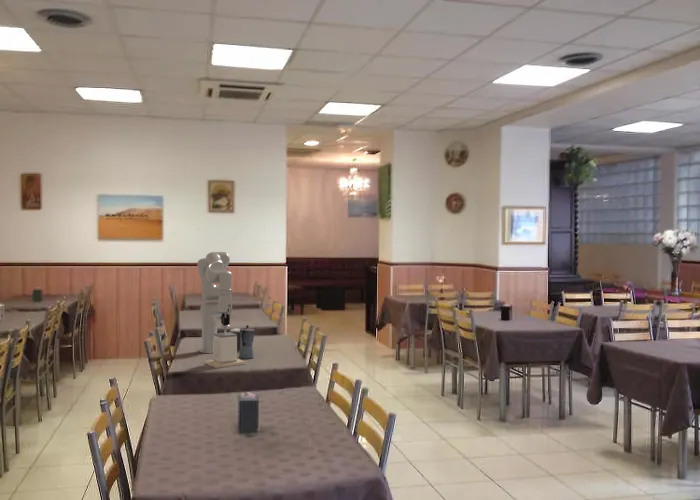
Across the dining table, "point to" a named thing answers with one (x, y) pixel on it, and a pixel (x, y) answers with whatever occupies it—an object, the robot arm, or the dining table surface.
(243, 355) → the moka pot
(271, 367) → the dining table surface
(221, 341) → the white box
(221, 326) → the plunger
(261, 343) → the dining table surface
